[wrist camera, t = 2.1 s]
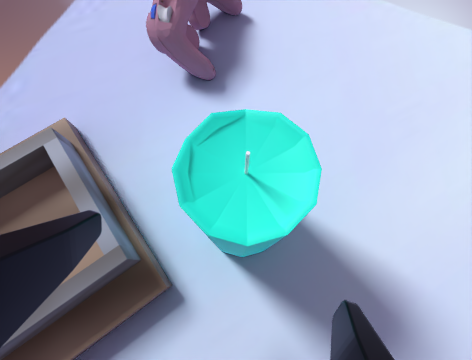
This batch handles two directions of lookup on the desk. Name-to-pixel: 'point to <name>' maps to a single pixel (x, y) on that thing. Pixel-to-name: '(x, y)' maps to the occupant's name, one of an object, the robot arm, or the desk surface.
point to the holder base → (96, 259)
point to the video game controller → (185, 31)
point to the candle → (247, 179)
